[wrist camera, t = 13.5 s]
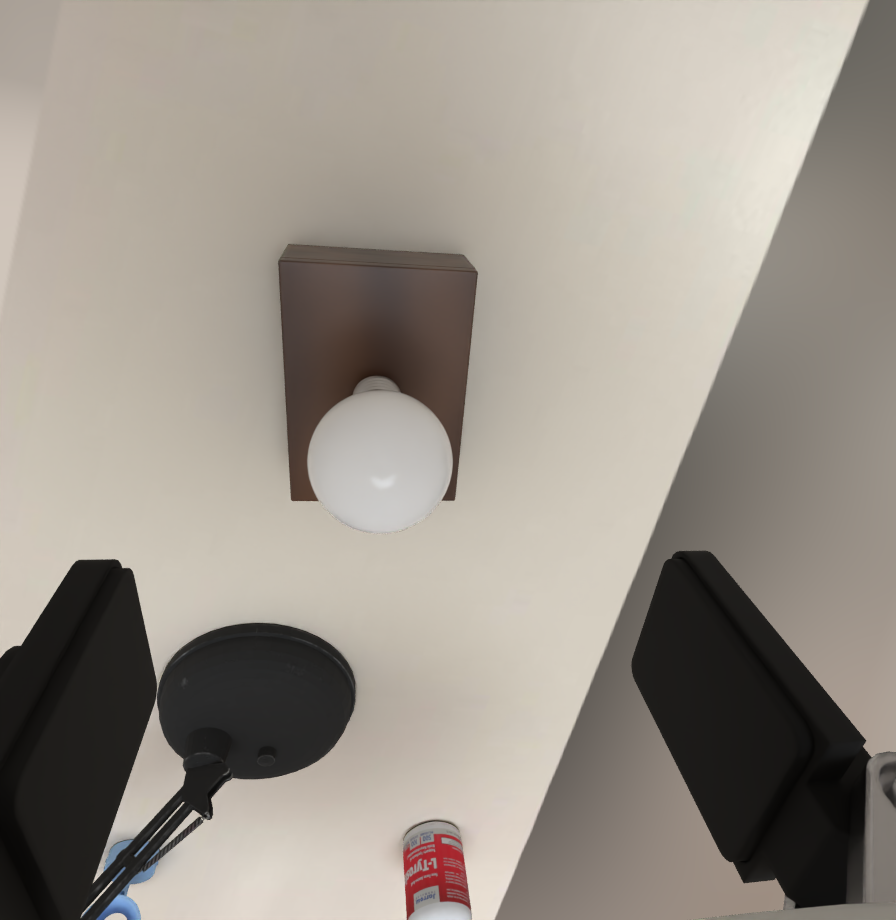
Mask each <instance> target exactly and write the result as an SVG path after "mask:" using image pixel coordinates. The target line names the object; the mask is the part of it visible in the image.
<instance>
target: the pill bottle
mask: <svg viewBox="0 0 896 920" xmlns="http://www.w3.org/2000/svg"><path fill="white" fill-rule="evenodd" d="M403 858H404V875H405V893H406V911H407V920H472V914H471V906H470V899H469V891H468V884H467V877H466V870H465V862H464V855H463V847H462V841H461V835H460V833H459V831H458V829H457V828H456V827H454V826H453V825H451V824H448V823H445V822H437V821H435V822H428V823H424V824H421V825H419V826H417V827H415V828H413V829H412V830H411V831H409V832H408V833H407V835H406V836H405V838H404V841H403Z"/></svg>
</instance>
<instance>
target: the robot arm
mask: <svg viewBox="0 0 896 920" xmlns="http://www.w3.org/2000/svg"><path fill="white" fill-rule="evenodd" d="M632 673H633V677H634V679H635V682H636V684H637V686H638V688H639V690H640V692H641V694H642V696H643V698H644V700H645V702H646V704H647V706H648V708H649V710H650V712H651V714H652V716H653V718H654V720H655V722H656V724H657V726H658V728H659V730H660V732H661V734H662V736H663V738H664V740H665V742H666V744H667V746H668V748H669V750H670V752H671V754H672V756H673V758H674V760H675V762H676V764H677V766H678V768H679V770H680V772H681V774H682V776H683V778H684V780H685V782H686V784H687V786H688V789H689V791H690V792H691V795H692V796H693V798H694V801H695V802H696V805H697V806H698V808H699V810H700V813H701V815H702V816H703V819H704V821H705V823H706V825H707V827H708V829H709V831H710V833H711V835H712V837H713V839H714V841H715V843H716V845H717V847H718V849H719V851H720V852H721V854H722V856H723V857H724V858H725V859H726V860H728V861H729V862H733V863H734V865H735V867H736V869H737V871H738V873H739V875H740V877H741V879H742V881H743V883H749V882H759V881H768V880H774V879H775V878H776V879H777V880H778V882H779V884H780V886H781V888H782V889H783V891H784V893H785V900H784V909H783V910H778V911H767V912H757V913H747V914H738V915H729V916H721V917H712V918H703V919H695V920H896V752H884V753H879V754H876V755H875V756H873V757H871V756H870V755H869V754H868V752H867V751H866V750H865V749H864V748H863V745H864V744H865V742H866V740H865V739H864V737H863V736H862V735H861V734H860V732H859V731H858V730H857V729H856V728H855V726H854V725H853V724H852V723H851V721H850V720H849V719H848V718H847V717H846V716H845V714H844V713H843V712H842V711H841V709H840V708H839V707H838V706H837V704H836V703H835V702H834V701H833V700H832V698H831V697H830V696H829V695H828V694H827V692H826V691H825V690H824V689H823V687H822V686H821V685H820V684H819V683H818V681H817V680H816V679H815V678H814V676H813V675H812V674H811V673H810V672H809V670H808V669H807V668H806V667H805V666H804V664H803V663H802V662H801V661H800V660H799V658H798V657H797V656H796V655H795V653H794V652H793V651H792V650H791V649H790V647H789V646H788V645H787V644H786V643H785V641H784V640H783V639H782V638H781V636H780V635H779V634H778V633H777V632H776V630H775V629H774V628H773V627H772V625H771V624H770V623H769V622H768V621H767V619H766V618H765V617H764V616H763V615H762V613H761V612H760V611H759V610H758V608H757V607H756V606H755V605H754V604H753V602H752V601H751V600H750V599H749V598H748V596H747V595H746V594H745V593H744V591H743V590H742V589H741V588H740V587H739V585H738V584H737V583H736V582H735V580H734V579H733V578H732V577H731V576H730V574H729V573H728V572H727V571H726V570H725V568H724V567H723V566H722V565H721V564H720V562H719V561H718V560H717V559H716V557H715V556H714V555H713V554H712V553H711V552H708V551H679V552H676V553H675V554H674V555H673V556H672V559H668V560H667V561H666V562H665V563H664V565H663V568H662V571H661V574H660V577H659V580H658V583H657V586H656V589H655V592H654V595H653V598H652V601H651V604H650V608H649V610H648V613H647V616H646V619H645V622H644V625H643V628H642V631H641V634H640V637H639V640H638V643H637V646H636V649H635V652H634V655H633V658H632ZM156 692H157V682H156V676H155V672H154V667H153V662H152V658H151V653H150V648H149V644H148V639H147V634H146V630H145V625H144V620H143V616H142V611H141V606H140V602H139V597H138V593H137V588H136V583H135V579H134V574H133V571H132V570H131V569H130V568H122V566H121V564H120V562H119V561H118V560H115V559H111V560H78V561H76V562H75V563H74V564H73V565H72V567H71V568H70V570H69V571H68V573H67V575H66V576H65V578H64V579H63V581H62V582H61V584H60V586H59V587H58V589H57V590H56V592H55V593H54V595H53V597H52V598H51V600H50V601H49V603H48V604H47V606H46V608H45V609H44V611H43V612H42V614H41V615H40V617H39V619H38V620H37V622H36V623H35V625H34V626H33V628H32V630H31V631H30V633H29V634H28V636H27V637H26V639H25V640H24V642H23V644H22V645H21V646H14V647H12V648H10V649H9V650H7V651H6V652H5V653H4V655H3V656H2V657H1V658H0V920H80V918H81V915H82V912H83V910H84V907H85V904H86V901H87V898H88V895H89V892H90V889H91V886H92V883H93V881H94V878H95V875H96V872H97V869H98V866H99V863H100V860H101V857H102V854H103V852H104V849H105V846H106V843H107V840H108V837H109V834H110V831H111V828H112V825H113V823H114V820H115V817H116V814H117V811H118V808H119V805H120V802H121V799H122V796H123V794H124V791H125V788H126V785H127V782H128V779H129V776H130V773H131V770H132V767H133V765H134V762H135V759H136V756H137V753H138V750H139V747H140V744H141V741H142V738H143V736H144V733H145V730H146V727H147V724H148V721H149V718H150V715H151V712H152V709H153V707H154V703H155V699H156Z"/></svg>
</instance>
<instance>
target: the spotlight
mask: <svg viewBox="0 0 896 920" xmlns="http://www.w3.org/2000/svg"><path fill="white" fill-rule="evenodd" d="M132 841H133V840H126V841H122V842H119V843H117V844H116V845H114V846H113V847H112V848H111V850H110V853H109V855H108V858H107V859H106V862H105V863H106V864H105V867H104V871H105V870H106V869H107V868H108V867H109V866H110V865H111V864H112V862H113V861H114V860H115V859H116V856H117V855H118V854H119V853H120V851H121V850H123V849H125V848H126V847H127V846H128V845H129V844H130V843H131V842H132ZM148 843H149V842H146V843H145V844H144V845H143V847H142V848H141V849H140V850H139V851H138V852H137V853H136V854H135V855H134V856H135V857H136V856H137V855H138V854H139V853H140V852H141V851H142V850H143V849H144V847H145V846H146V845H147V844H148ZM158 852H160V851H159V849H158V850H157V851H156V852H155V854H154V855H153V856H152V857H151V858H150V859H149V860H151V859H152V858H153V857H154V856H155V855H156V854H157V853H158ZM149 860H148V861H149ZM148 861H147V862H148ZM156 865H158V861H157V862H156V863H154V864H153V865H152V866H151V867H150V868H149V869H147V870H146V871H145V872H143V871H141V872H140V873H139V874H137V875H135V876H134V877H133V878H132V880H131V881H130V882H129V883H128V884H127V885H126V886H125V888H124V889H123V890H122V891H121V892H120V893H119V894H118V895H117V897H116V898H115V899H114V900H113V901H112V902H111V903H110V905H109V906H108V907H107V908H106V909H105V910H104V911H103V912H102V914H101V915H100V916H99V917H98V918H97V919H96V920H104V919H105V918H106V917H108V916H109V915H111V914H113V913H122V914H124V915H125V916H126V918H127V920H141V915H140V911H139V908H138V906H137V904H136V903H135V902H134V901H133V900H132V899H131V898H129V897H127V896H126V895H127V892H128V888H129V885H130V884H137V883H141V882H144V881H147V880H148V879H150V878H151V877H152V876H153V875H154V872H155V869H156ZM125 869H126V868H125V867H124V868H123V869H122V870H121V871H120V872H119V873H118V874H117V875H116V876H115V878H114V879H113V880H112V881H113V882H114V881H115V880H116V878H117V877H118V876H119V875H120V874H121V873H122V872H123V871H124V870H125ZM89 908H90V907H89ZM89 908H88V910H89ZM88 910H87V911H88ZM87 911H86V912H87ZM86 912H85V913H86ZM85 913H84V914H85ZM84 914H83V915H84Z"/></svg>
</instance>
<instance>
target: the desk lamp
mask: <svg viewBox="0 0 896 920" xmlns="http://www.w3.org/2000/svg"><path fill="white" fill-rule="evenodd" d="M354 705H355V680H354V676H353V672H352V670H351V668H350V666H349V664H348V663H347V661H346V660H345V659H344V657H343V656H342V655H341V654H340V653H339V652H338V651H337V650H336V649H335V648H334V647H332V646H331V645H330V644H328V643H327V642H325V641H324V640H322V639H320V638H319V637H317V636H314V635H312V634H310V633H308V632H305V631H302V630H299V629H295V628H292V627H287V626H282V625H276V624H260V623H257V624H241V625H235V626H230V627H225V628H221V629H218V630H215V631H212V632H209V633H207V634H205V635H202V636H200V637H198V638H196V639H195V640H193V641H191V642H190V643H188V644H187V645H185V646H184V647H183V648H182V649H181V650H180V651H178V652H177V653H176V654H175V655H174V657H173V658H172V659H171V660H170V662H169V663H168V665H167V667H166V669H165V671H164V673H163V675H162V678H161V681H160V684H159V688H158V693H157V706H158V709H159V720H160V723H161V727H162V730H163V733H164V736H165V738H166V740H167V742H168V743H169V745H170V746H171V747H172V748H173V750H174V751H175V752H176V753H177V754H178V755H179V756H181V757H182V758H183V759H184V762H183V767H184V770H185V771H186V775H185V780H184V785H183V787H182V788H181V789H180V790H179V791H178V792H177V793H176V794H175V795H174V796H173V797H172V799H171V800H170V801H169V802H168V803H167V804H166V805H165V806H164V807H163V808H162V809H161V810H160V812H159V813H158V814H157V815H156V816H155V817H154V818H153V819H152V820H151V821H150V822H149V823H148V825H147V826H146V827H145V828H144V829H143V830H142V831H141V832H140V833H139V834H138V835H137V836H136V838H135V839H134V840H133V841H132V842H131V843H130V844H129V845H128V846H127V847H126V848H125V849H123V850H121V851H120V853H119V854H118V855H117V856H116V859H115V860H114V861H113V862H112V864H111V865H110V866H109V867H108V868H107V869H106V870H105V871H104V872H103V873H102V874H101V876H100V877H99V878H98V879H97V880H96V881H95V882H94V883H93V884H92V886H91V889H90V892H89V895H88V898H87V901H86V904H85V907H84V910H83V912H84V911H85V910H86V909H87V907H88V906H89V905H90V904H91V903H92V902H93V901H94V900H95V899H96V898H97V896H98V895H99V894H100V893H101V892H102V891H103V890H104V889H105V888H106V886H107V885H108V884H109V883H110V882H111V881H112V880H113V879H114V878H115V876H116V875H117V874H118V873H119V872H120V871H121V870H122V869H123V868H124V867H125V868H126V869H125V870H124V871H123V872H122V873H121V874H120V875H119V876H118V877H117V878H116V880H115V881H114V882H113V883H112V884H111V885H110V886H109V887H108V888H107V890H106V891H105V892H104V893H103V894H102V895H101V896H100V897H99V898H98V900H97V901H96V902H95V903H94V904H93V905H92V906H91V907H90V908H89V910H88V911H87V912H86V913H85V914H84V915H83V916H82V917H81V918H80V920H96V919H97V918H98V917H99V916H100V915H101V914H102V912H103V911H104V910H105V909H106V908H107V907H108V906H109V905H110V903H111V902H112V901H113V900H114V899H115V898H116V897H117V895H118V894H119V893H120V892H121V891H122V890H123V889H124V888H125V886H126V885H127V884H128V883H129V882H130V881H131V880H132V878H133V877H134V876H135V875H137V874H139V873H140V872H141V871H143V872H145V871H146V870H147V869H149V868H150V867H151V866H152V865H153V864H154V863H156V862H157V861H158V860H159V859H160V858H162V857H163V856H164V855H165V854H166V853H167V852H169V851H170V850H171V849H172V848H173V847H175V846H176V845H177V844H178V843H179V842H180V841H182V840H183V839H184V838H185V837H186V836H188V835H189V834H190V833H191V832H192V831H193V830H195V829H196V828H197V827H198V826H199V825H201V824H202V823H203V820H204V818H205V819H207V820H210V819H212V816H213V807H212V802H211V798H212V797H213V796H214V794H215V793H216V792H217V791H218V790H219V789H220V788H221V787H222V786H223V784H224V783H225V782H227V781H230V780H231V779H232V778H237V779H265V778H272V777H278V776H282V775H286V774H289V773H292V772H296V771H298V770H301V769H303V768H305V767H308V766H310V765H311V764H313V763H315V762H317V761H318V760H320V759H321V758H322V757H323V756H325V755H326V754H327V753H328V752H329V751H330V750H331V749H332V748H333V747H334V746H335V744H336V743H337V741H338V740H339V738H340V737H341V735H342V734H343V732H344V730H345V728H346V725H347V723H348V721H349V720H350V717H351V715H352V713H353V710H354ZM183 801H184V802H185V803H184V804H183V805H182V806H181V807H180V809H179V810H178V811H177V812H176V813H175V814H174V815H173V816H172V817H171V819H170V820H169V821H168V822H167V823H166V824H165V825H164V826H163V827H162V829H161V830H160V831H159V832H158V833H157V834H156V835H155V836H154V837H153V839H152V840H151V841H150V842H149V843H148V844H147V845H146V846H145V847H144V849H143V850H142V851H141V852H140V853H139V854H138V855H137V856H136V857H135V856H134V855H135V854H136V853H137V852H138V851H139V850H140V849H141V848H142V847H143V845H144V844H145V843H146V842H147V841H148V840H149V839H150V838H151V837H152V836H153V834H154V833H155V832H156V831H157V830H158V829H159V828H160V827H161V826H162V824H163V823H164V822H165V821H166V820H167V819H168V818H169V817H170V816H171V815H172V813H173V812H174V811H175V810H176V809H177V808H178V807H179V806H180V805H181V803H182V802H183ZM192 810H195V811H196V812H198V813H199V814H200V815H202V817H198V818H197V819H196V820H195V821H194V822H193V823H191V824H190V825H189V826H188V827H187V828H186V829H185V830H183V831H182V832H181V833H180V834H179V835H178V836H177V837H176V838H174V839H173V840H172V841H171V842H170V843H169V844H168V845H166V846H165V847H164V848H163V849H162V850H161V851H160V852H158V853H157V854H156V855H155V856H154V857H153V858H152V859H151V860H149V859H150V858H151V857H152V856H153V855H154V854H155V852H156V851H157V850H158V849H159V848H160V847H161V846H162V844H163V843H164V842H165V841H166V840H167V839H168V838H169V837H170V835H171V834H172V833H173V832H174V831H175V830H176V829H177V827H178V826H179V825H180V824H181V823H182V822H183V821H184V820H185V818H186V817H187V816H188V815H189V814H190V813H191V812H192ZM201 818H203V820H201ZM148 860H149V861H148ZM147 861H148V862H147ZM83 912H82V913H83Z"/></svg>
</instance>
